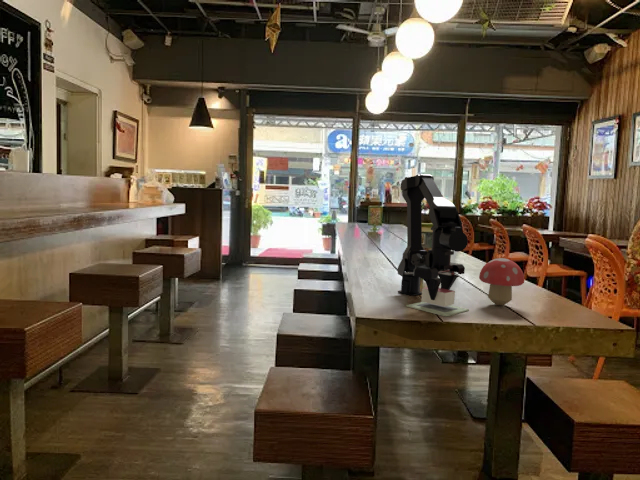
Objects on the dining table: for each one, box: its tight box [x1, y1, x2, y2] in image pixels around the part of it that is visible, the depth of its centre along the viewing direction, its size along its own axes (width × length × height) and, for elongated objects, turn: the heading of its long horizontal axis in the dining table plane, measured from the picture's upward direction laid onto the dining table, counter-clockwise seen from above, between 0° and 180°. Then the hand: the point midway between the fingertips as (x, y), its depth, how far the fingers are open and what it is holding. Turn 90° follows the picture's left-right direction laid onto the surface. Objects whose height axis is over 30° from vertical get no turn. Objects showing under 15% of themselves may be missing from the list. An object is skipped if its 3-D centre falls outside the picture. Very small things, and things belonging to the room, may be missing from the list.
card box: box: [420, 287, 456, 307], centre depth 149 cm, size 8×5×4 cm, turn 44°
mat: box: [406, 301, 470, 317], centre depth 149 cm, size 12×14×1 cm
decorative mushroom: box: [478, 257, 525, 306], centre depth 157 cm, size 13×13×15 cm
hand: (437, 298), depth 149 cm, fingers closed on card box, 5 cm apart
